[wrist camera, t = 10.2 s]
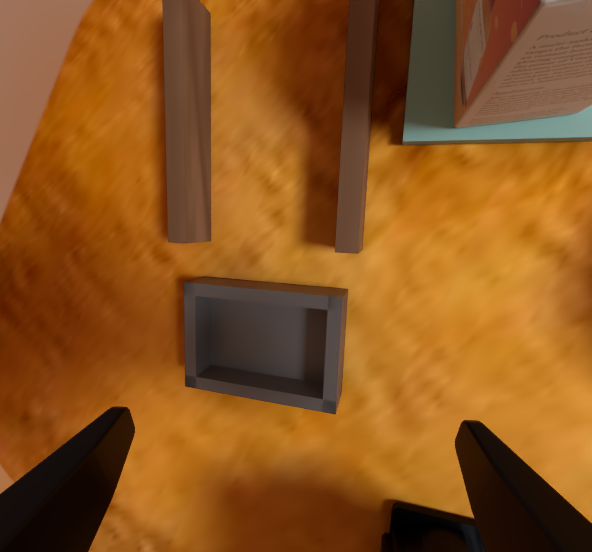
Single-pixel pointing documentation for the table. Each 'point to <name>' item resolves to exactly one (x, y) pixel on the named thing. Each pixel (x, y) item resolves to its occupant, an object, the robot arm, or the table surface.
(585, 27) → the small box
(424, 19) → the pad
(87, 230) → the table surface
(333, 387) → the tray
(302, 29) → the table surface
